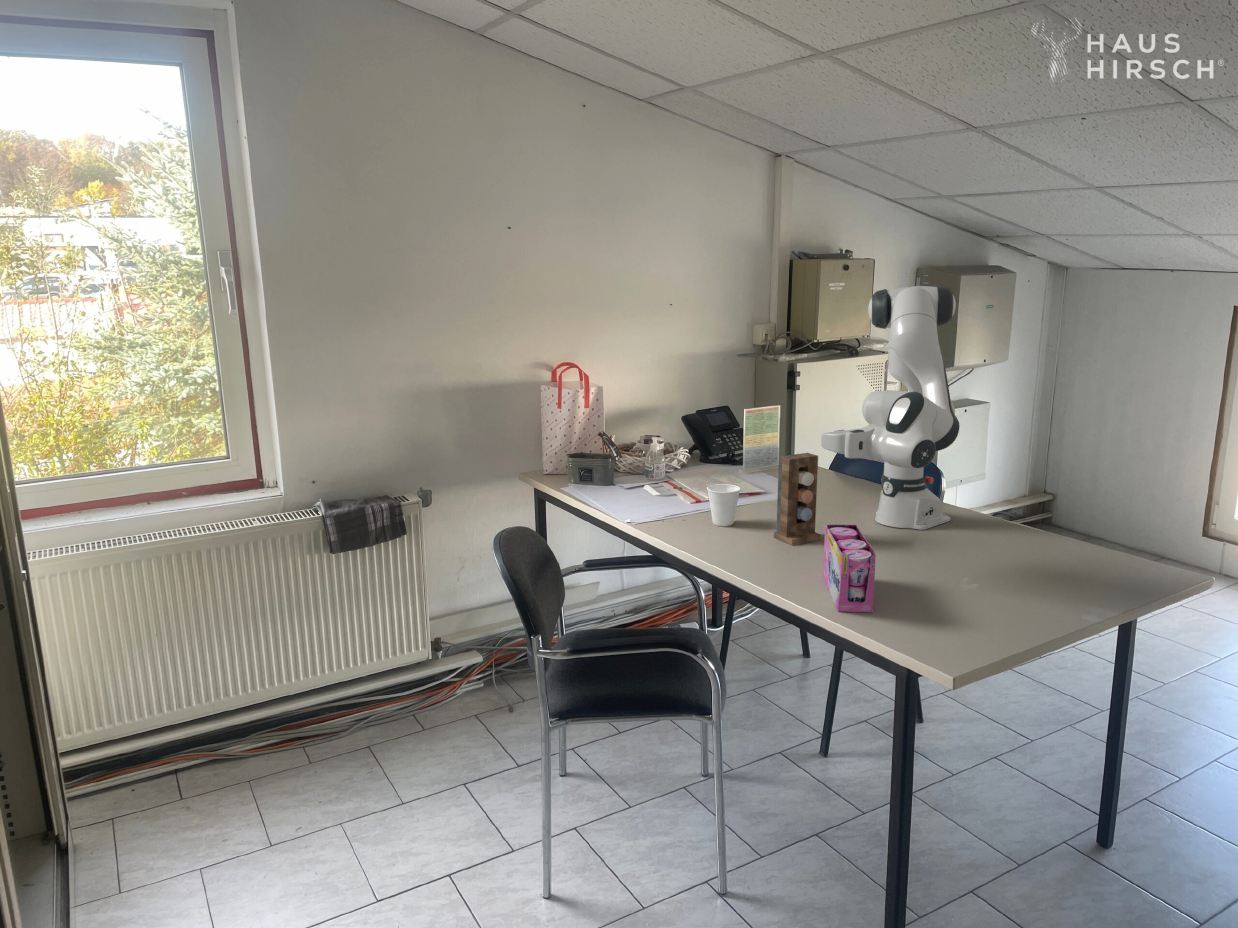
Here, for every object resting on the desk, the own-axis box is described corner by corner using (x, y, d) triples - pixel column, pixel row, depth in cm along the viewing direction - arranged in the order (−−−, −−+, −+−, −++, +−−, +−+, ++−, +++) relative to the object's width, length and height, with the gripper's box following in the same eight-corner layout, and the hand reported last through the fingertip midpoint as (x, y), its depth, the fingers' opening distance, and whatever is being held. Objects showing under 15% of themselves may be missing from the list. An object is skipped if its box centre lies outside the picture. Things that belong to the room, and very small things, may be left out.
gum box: (875, 615, 189) (879, 556, 186) (838, 614, 189) (841, 556, 186) (854, 577, 212) (857, 524, 209) (821, 576, 213) (824, 523, 210)
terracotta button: (802, 499, 240) (803, 486, 239) (812, 502, 237) (813, 489, 236) (792, 500, 239) (793, 488, 238) (802, 504, 235) (803, 491, 234)
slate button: (802, 516, 241) (802, 503, 241) (812, 520, 238) (812, 507, 237) (792, 518, 240) (792, 505, 239) (801, 521, 236) (802, 509, 235)
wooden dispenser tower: (802, 532, 247) (805, 452, 242) (820, 539, 240) (824, 457, 235) (774, 537, 243) (776, 455, 238) (792, 545, 236) (795, 461, 231)
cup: (702, 526, 254) (702, 490, 251) (711, 517, 263) (712, 482, 260) (735, 530, 250) (735, 493, 247) (743, 521, 259) (744, 485, 256)
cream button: (803, 481, 239) (804, 469, 238) (813, 484, 235) (814, 472, 235) (793, 483, 238) (793, 470, 237) (803, 486, 234) (803, 473, 233)
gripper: (907, 426, 217) (868, 417, 229) (844, 433, 208) (807, 424, 220) (905, 450, 218) (867, 441, 230) (843, 459, 209) (806, 449, 221)
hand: (837, 433), depth 225 cm, fingers closed
